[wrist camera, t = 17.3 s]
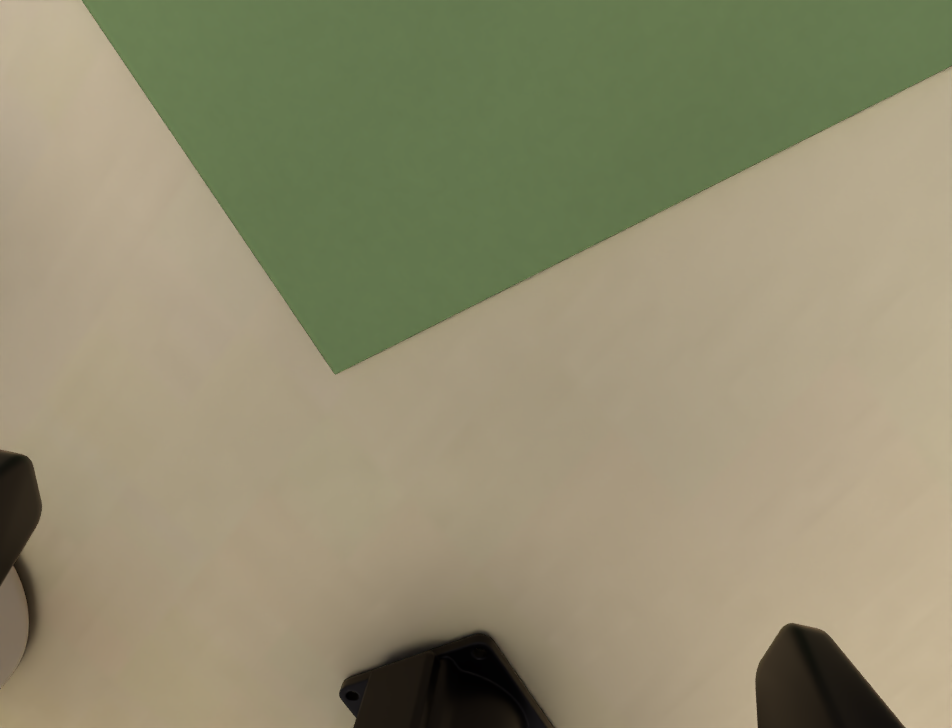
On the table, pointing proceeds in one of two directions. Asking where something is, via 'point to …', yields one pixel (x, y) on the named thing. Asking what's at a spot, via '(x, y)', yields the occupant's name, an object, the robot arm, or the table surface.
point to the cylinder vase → (12, 625)
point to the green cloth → (488, 127)
